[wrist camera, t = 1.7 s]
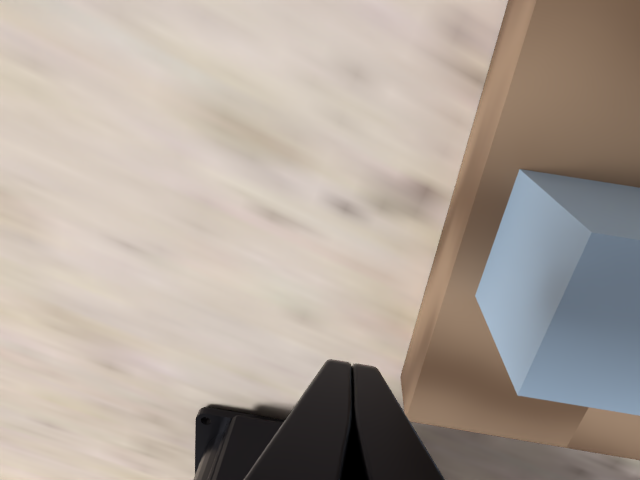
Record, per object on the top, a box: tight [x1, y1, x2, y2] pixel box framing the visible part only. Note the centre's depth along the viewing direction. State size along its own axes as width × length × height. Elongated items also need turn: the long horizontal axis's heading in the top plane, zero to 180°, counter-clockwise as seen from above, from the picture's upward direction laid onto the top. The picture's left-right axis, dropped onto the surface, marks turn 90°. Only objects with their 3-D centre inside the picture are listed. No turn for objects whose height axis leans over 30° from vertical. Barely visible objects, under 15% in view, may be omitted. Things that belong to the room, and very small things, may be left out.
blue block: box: [475, 169, 640, 416], centre depth 12 cm, size 4×4×4 cm
